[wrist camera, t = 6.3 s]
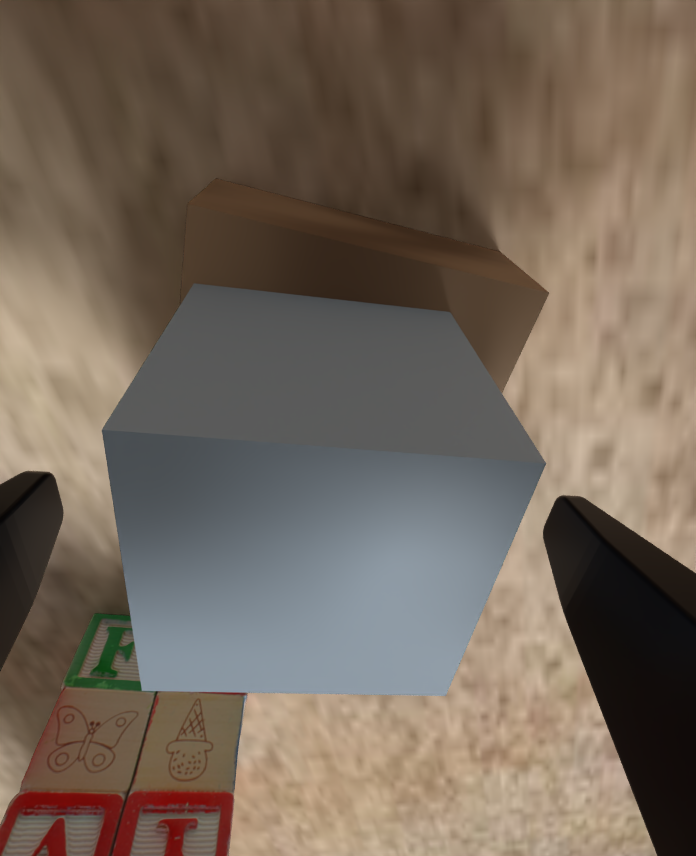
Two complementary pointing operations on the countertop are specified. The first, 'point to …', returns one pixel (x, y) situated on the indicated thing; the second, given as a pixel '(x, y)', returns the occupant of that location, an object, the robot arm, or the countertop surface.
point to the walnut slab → (359, 265)
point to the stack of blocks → (127, 763)
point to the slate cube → (312, 496)
